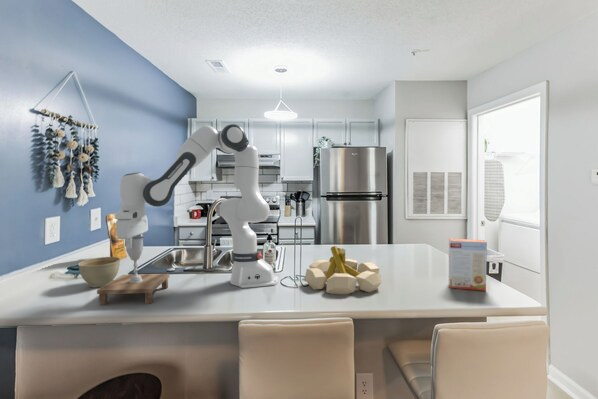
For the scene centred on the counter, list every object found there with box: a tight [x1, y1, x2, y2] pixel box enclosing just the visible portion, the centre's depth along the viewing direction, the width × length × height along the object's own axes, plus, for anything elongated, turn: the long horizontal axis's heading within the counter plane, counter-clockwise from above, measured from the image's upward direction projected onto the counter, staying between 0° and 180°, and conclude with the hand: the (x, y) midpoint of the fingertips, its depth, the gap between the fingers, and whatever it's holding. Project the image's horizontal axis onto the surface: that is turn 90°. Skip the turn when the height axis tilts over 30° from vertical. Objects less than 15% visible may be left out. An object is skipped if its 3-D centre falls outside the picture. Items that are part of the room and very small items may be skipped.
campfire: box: [304, 245, 382, 295], centre depth 146 cm, size 35×34×17 cm
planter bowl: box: [78, 256, 121, 288], centre depth 146 cm, size 16×16×11 cm
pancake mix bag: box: [105, 212, 128, 261], centre depth 193 cm, size 7×19×28 cm, turn 3°
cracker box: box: [448, 238, 488, 292], centre depth 138 cm, size 14×6×21 cm, turn 71°
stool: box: [96, 273, 170, 306], centre depth 131 cm, size 20×20×6 cm
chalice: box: [125, 236, 145, 283], centre depth 130 cm, size 7×7×18 cm
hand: (134, 246), depth 130 cm, fingers closed on chalice, 6 cm apart
